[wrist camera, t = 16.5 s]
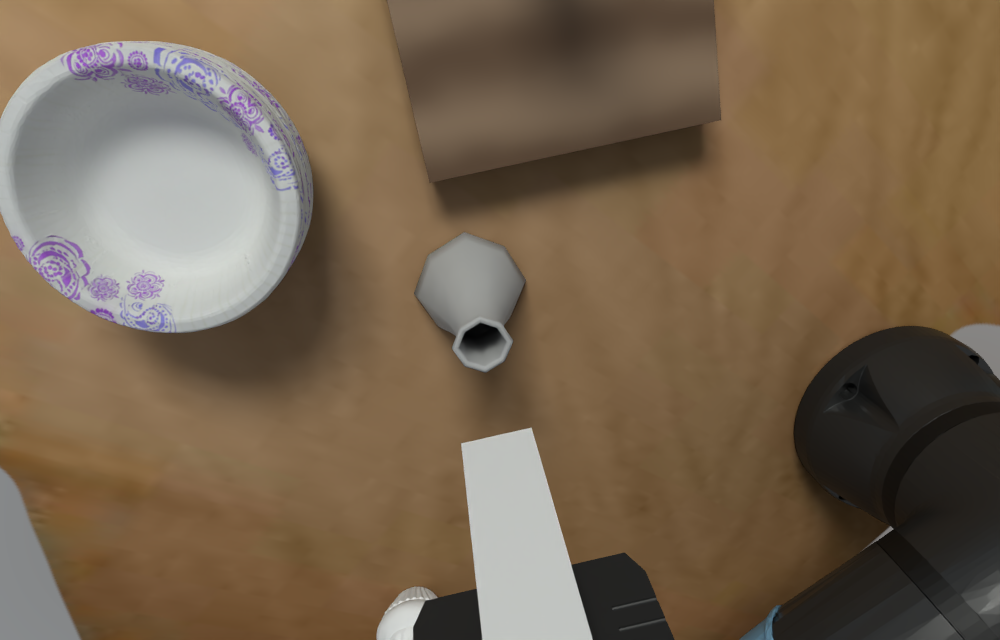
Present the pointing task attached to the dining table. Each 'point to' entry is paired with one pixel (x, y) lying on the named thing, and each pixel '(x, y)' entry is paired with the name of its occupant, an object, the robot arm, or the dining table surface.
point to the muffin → (403, 614)
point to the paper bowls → (154, 184)
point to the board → (551, 75)
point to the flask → (472, 297)
